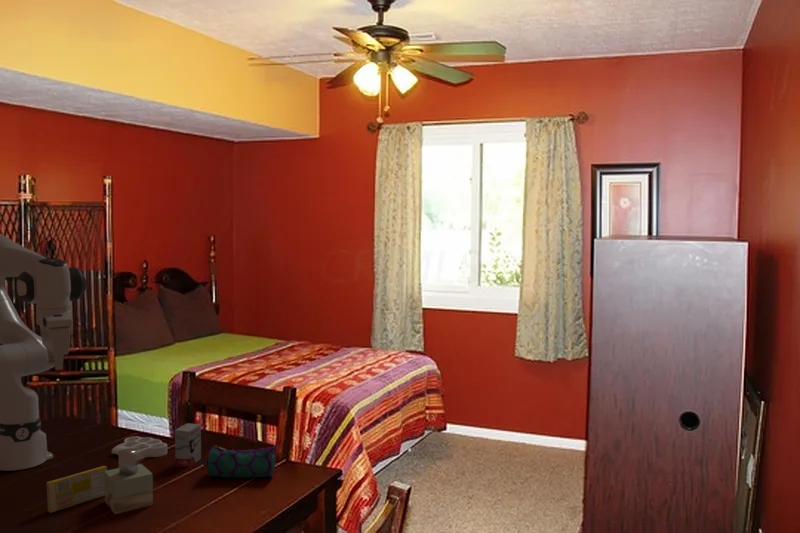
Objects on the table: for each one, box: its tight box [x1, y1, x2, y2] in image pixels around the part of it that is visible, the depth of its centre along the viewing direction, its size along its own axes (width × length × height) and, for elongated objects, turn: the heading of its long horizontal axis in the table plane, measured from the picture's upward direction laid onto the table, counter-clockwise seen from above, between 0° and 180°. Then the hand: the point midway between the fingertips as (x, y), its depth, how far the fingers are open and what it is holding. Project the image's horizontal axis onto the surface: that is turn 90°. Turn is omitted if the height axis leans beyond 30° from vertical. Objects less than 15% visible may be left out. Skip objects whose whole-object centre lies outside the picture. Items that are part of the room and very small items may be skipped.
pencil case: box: [203, 445, 276, 479], centre depth 211 cm, size 21×9×10 cm, turn 90°
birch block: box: [104, 488, 154, 515], centre depth 190 cm, size 10×10×4 cm
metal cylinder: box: [118, 448, 139, 476], centre depth 190 cm, size 5×5×6 cm
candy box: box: [46, 465, 108, 514], centre depth 190 cm, size 16×2×8 cm, turn 141°
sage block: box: [104, 463, 154, 498], centre depth 190 cm, size 10×10×4 cm
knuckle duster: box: [111, 435, 168, 461], centre depth 232 cm, size 3×18×15 cm
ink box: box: [174, 422, 202, 468], centre depth 222 cm, size 9×5×12 cm, turn 168°
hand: (55, 366), depth 193 cm, fingers open, 8 cm apart
